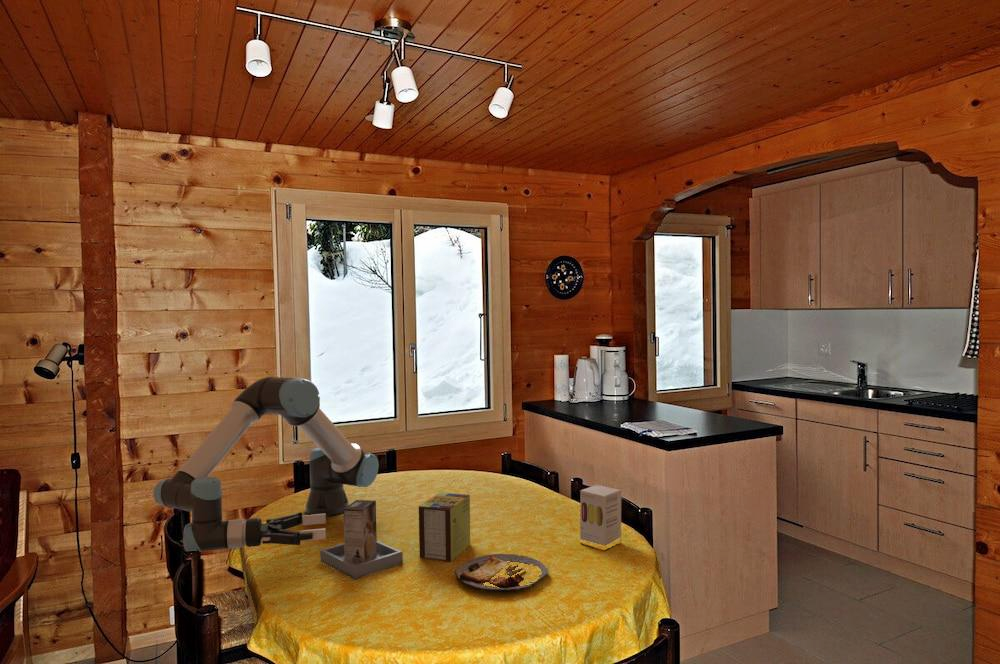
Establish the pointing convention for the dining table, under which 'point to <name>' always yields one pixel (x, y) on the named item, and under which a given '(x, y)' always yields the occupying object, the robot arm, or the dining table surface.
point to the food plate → (495, 571)
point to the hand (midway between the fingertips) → (325, 525)
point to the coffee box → (360, 531)
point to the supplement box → (600, 514)
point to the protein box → (444, 526)
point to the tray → (379, 562)
